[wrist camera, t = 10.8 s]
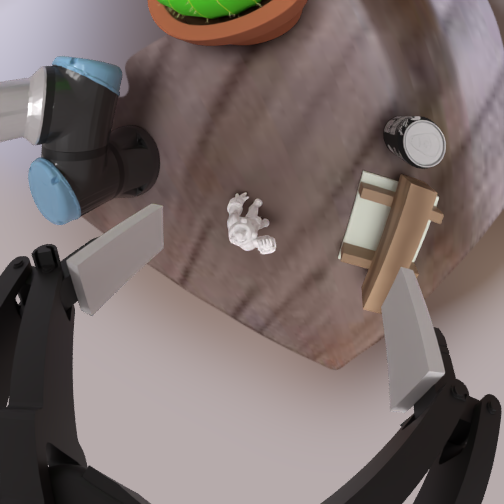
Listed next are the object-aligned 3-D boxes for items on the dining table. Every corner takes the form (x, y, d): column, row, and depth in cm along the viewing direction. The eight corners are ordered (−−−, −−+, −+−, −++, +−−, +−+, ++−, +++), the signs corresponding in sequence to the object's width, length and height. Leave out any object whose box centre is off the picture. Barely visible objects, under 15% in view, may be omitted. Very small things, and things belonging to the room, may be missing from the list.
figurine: (291, 216, 47) (278, 247, 37) (278, 238, 50) (261, 274, 39) (240, 187, 47) (212, 210, 37) (229, 210, 50) (200, 238, 40)
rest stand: (338, 255, 48) (337, 270, 43) (362, 170, 39) (366, 176, 35) (406, 274, 45) (411, 289, 41) (437, 195, 37) (447, 204, 33)
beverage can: (419, 159, 35) (445, 175, 25) (381, 153, 37) (397, 166, 27) (421, 120, 32) (450, 123, 22) (383, 113, 34) (401, 111, 24)
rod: (361, 286, 43) (363, 309, 38) (400, 173, 33) (411, 183, 28) (382, 292, 43) (385, 314, 38) (424, 181, 33) (437, 193, 27)
